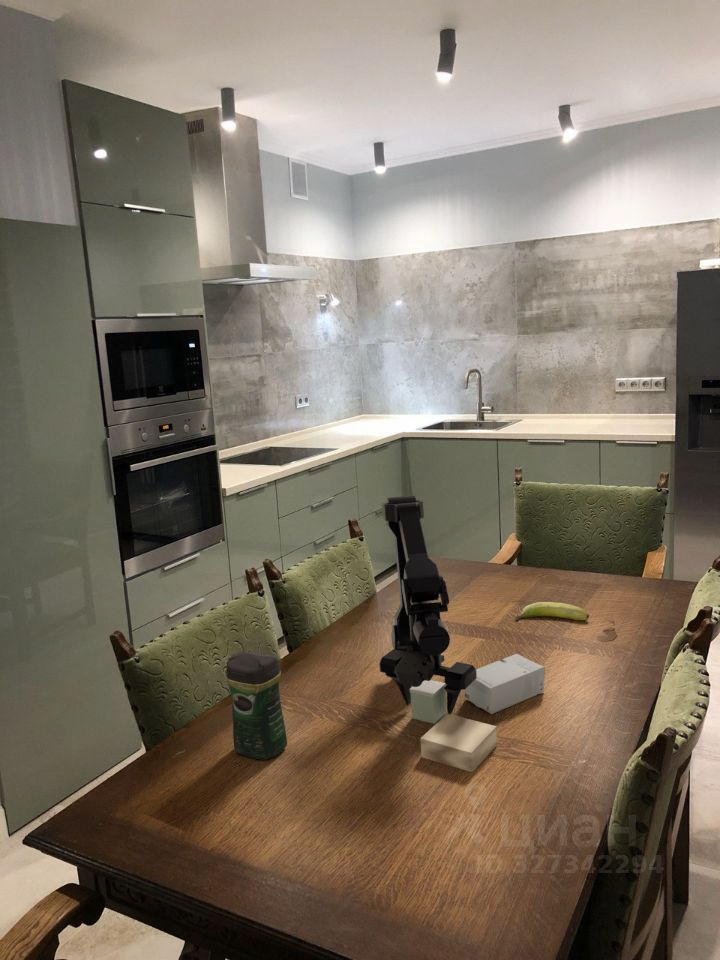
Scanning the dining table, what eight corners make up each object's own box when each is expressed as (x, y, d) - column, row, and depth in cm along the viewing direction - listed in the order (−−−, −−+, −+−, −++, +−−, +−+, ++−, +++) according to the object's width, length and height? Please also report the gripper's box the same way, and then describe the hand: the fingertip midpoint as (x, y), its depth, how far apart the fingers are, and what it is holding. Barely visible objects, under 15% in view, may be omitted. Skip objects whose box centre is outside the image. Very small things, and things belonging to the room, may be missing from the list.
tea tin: (411, 718, 152) (409, 689, 151) (424, 706, 156) (422, 678, 155) (434, 724, 149) (433, 694, 148) (447, 712, 153) (445, 683, 152)
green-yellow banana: (627, 606, 203) (627, 592, 202) (619, 648, 179) (619, 632, 178) (495, 596, 217) (495, 583, 216) (470, 634, 192) (470, 619, 191)
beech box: (421, 758, 138) (420, 738, 137) (448, 733, 146) (447, 713, 145) (472, 774, 132) (471, 752, 132) (497, 746, 140) (496, 726, 140)
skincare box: (545, 666, 157) (491, 687, 149) (545, 693, 159) (491, 716, 151) (515, 652, 164) (462, 672, 156) (515, 678, 166) (462, 699, 157)
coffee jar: (294, 744, 145) (286, 651, 142) (268, 765, 139) (259, 668, 135) (253, 733, 150) (245, 643, 147) (227, 753, 144) (217, 659, 140)
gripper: (361, 641, 148) (366, 716, 151) (449, 659, 138) (453, 739, 141) (391, 621, 157) (396, 692, 160) (476, 636, 147) (479, 712, 150)
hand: (429, 709), depth 152 cm, fingers open, 9 cm apart
